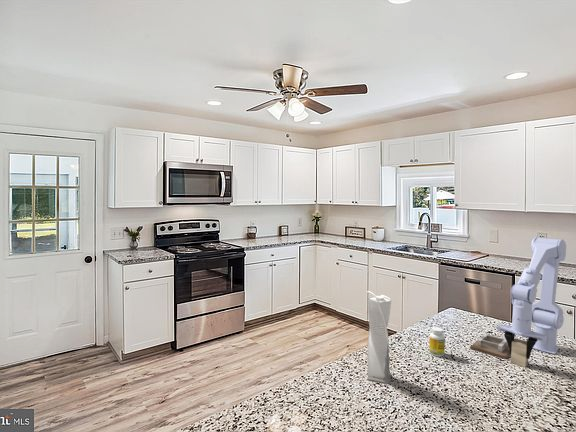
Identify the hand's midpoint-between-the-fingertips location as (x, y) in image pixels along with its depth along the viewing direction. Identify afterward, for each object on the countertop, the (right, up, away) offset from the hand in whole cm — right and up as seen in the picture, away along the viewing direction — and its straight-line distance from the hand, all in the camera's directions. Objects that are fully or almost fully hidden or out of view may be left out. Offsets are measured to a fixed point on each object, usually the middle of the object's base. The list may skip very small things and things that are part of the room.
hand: (519, 355), depth 128 cm
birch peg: (0, -3, 0) cm, 3 cm away
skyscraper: (-54, -3, -10) cm, 55 cm away
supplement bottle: (-27, -2, +7) cm, 28 cm away
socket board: (-3, -2, +13) cm, 13 cm away
